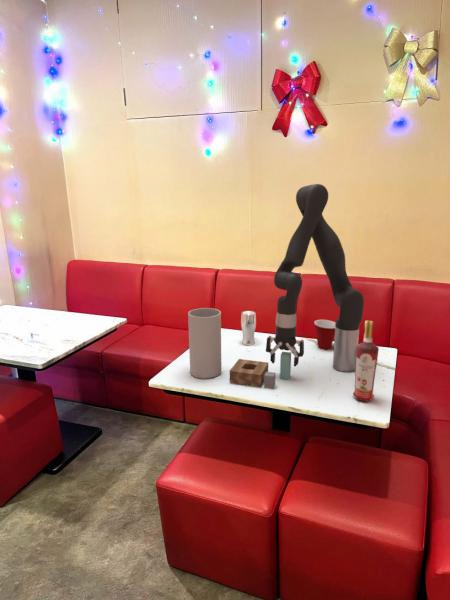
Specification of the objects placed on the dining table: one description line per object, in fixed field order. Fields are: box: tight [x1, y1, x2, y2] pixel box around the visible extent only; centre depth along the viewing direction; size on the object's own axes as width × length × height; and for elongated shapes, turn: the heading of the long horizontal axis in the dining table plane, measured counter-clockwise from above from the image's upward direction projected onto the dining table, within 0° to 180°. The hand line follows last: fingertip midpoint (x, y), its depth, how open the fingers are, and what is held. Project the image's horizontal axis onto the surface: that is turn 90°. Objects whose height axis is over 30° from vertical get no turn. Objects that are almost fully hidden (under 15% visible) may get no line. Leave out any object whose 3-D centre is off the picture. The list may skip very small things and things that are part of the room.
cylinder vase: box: [187, 307, 222, 380], centre depth 167 cm, size 12×12×25 cm
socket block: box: [229, 358, 269, 388], centre depth 164 cm, size 12×12×5 cm
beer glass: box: [240, 310, 257, 346], centre depth 200 cm, size 7×7×15 cm
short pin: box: [263, 371, 276, 390], centre depth 158 cm, size 3×3×5 cm
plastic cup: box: [313, 319, 336, 351], centre depth 194 cm, size 11×11×12 cm
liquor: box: [352, 320, 380, 402], centre depth 145 cm, size 7×7×28 cm
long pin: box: [279, 351, 292, 381], centre depth 164 cm, size 3×3×10 cm
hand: (284, 364), depth 164 cm, fingers open, 8 cm apart
